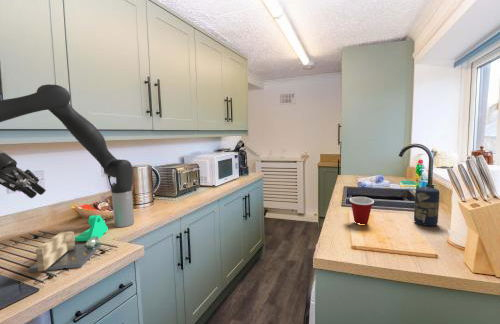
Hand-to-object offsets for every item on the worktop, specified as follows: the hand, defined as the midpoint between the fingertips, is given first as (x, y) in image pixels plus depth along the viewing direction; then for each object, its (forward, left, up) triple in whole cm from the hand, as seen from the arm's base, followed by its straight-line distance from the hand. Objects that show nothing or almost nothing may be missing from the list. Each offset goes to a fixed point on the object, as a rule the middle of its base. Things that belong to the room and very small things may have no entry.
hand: (38, 194), depth 90 cm
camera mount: (-26, +5, -26) cm, 37 cm away
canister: (-7, +158, -26) cm, 160 cm away
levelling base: (-6, +4, -26) cm, 27 cm away
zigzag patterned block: (-3, +2, -24) cm, 24 cm away
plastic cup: (-14, +129, -26) cm, 133 cm away
